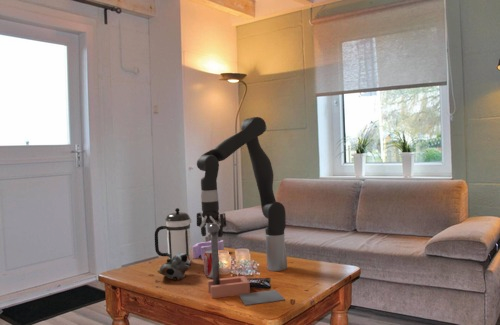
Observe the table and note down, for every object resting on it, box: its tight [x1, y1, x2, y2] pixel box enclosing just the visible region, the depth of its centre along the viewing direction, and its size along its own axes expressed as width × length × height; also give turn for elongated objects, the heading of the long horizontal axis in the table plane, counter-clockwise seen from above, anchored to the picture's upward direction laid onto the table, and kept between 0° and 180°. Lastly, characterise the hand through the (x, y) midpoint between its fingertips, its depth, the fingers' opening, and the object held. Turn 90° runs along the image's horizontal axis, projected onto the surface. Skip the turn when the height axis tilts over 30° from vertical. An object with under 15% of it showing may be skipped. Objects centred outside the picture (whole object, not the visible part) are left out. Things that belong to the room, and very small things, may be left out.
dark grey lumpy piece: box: [157, 253, 191, 281], centre depth 207 cm, size 15×12×14 cm
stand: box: [208, 223, 221, 285], centre depth 181 cm, size 4×4×29 cm
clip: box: [191, 239, 225, 261], centre depth 248 cm, size 20×12×7 cm, turn 144°
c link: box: [207, 275, 251, 299], centre depth 183 cm, size 16×10×4 cm, turn 104°
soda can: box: [203, 250, 213, 279], centre depth 206 cm, size 7×7×12 cm
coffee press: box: [154, 207, 194, 267], centre depth 230 cm, size 17×16×30 cm
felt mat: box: [238, 289, 286, 307], centre depth 174 cm, size 16×12×1 cm
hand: (212, 236), depth 193 cm, fingers open, 8 cm apart
